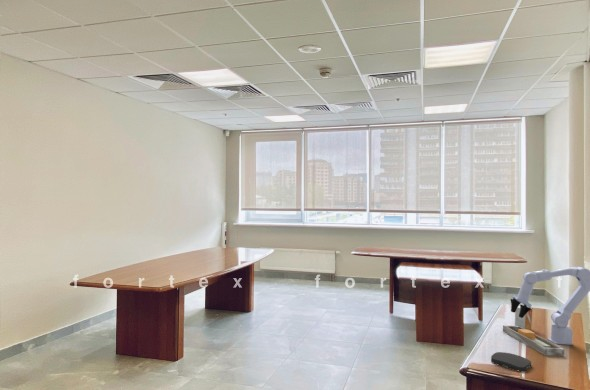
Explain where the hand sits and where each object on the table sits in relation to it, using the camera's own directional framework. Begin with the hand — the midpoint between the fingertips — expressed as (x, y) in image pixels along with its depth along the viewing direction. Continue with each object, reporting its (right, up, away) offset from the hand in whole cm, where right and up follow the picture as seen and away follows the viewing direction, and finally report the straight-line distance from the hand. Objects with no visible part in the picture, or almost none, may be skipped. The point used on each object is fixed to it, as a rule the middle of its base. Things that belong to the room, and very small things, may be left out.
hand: (516, 314), depth 226 cm
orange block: (+1, -10, -8) cm, 13 cm away
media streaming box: (-27, -10, -43) cm, 52 cm away
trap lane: (+1, -12, -12) cm, 17 cm away
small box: (+12, -13, +14) cm, 22 cm away
